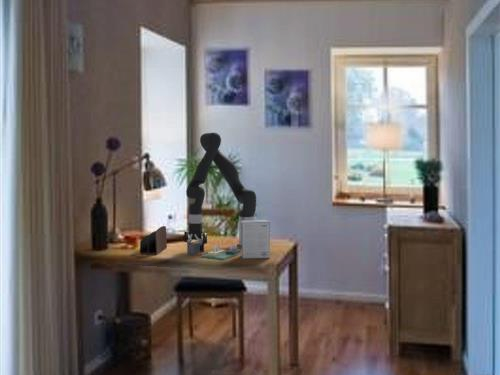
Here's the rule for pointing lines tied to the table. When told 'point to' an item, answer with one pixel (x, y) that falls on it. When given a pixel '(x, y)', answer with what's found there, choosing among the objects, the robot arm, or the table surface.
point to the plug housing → (193, 248)
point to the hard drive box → (255, 238)
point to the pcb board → (223, 253)
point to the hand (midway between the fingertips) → (195, 250)
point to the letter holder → (154, 242)
